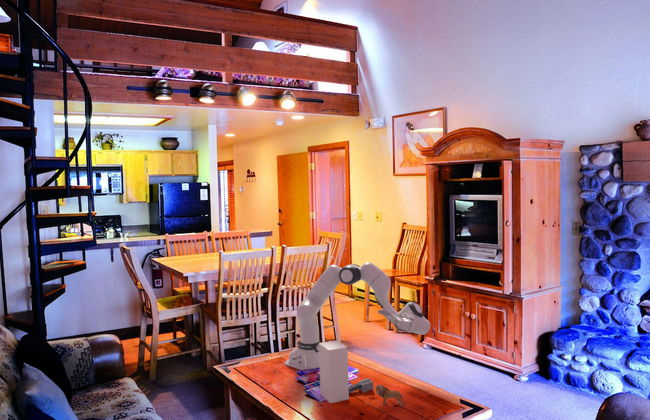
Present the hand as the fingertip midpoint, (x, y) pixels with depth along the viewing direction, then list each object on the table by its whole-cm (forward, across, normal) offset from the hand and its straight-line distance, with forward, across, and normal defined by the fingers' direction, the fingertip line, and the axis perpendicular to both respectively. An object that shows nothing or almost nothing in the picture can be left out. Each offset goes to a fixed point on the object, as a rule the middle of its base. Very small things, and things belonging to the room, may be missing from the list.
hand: (383, 314), depth 257 cm
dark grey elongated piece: (+3, +5, +38) cm, 38 cm away
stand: (+13, +6, +45) cm, 47 cm away
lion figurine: (-6, +25, +35) cm, 43 cm away
